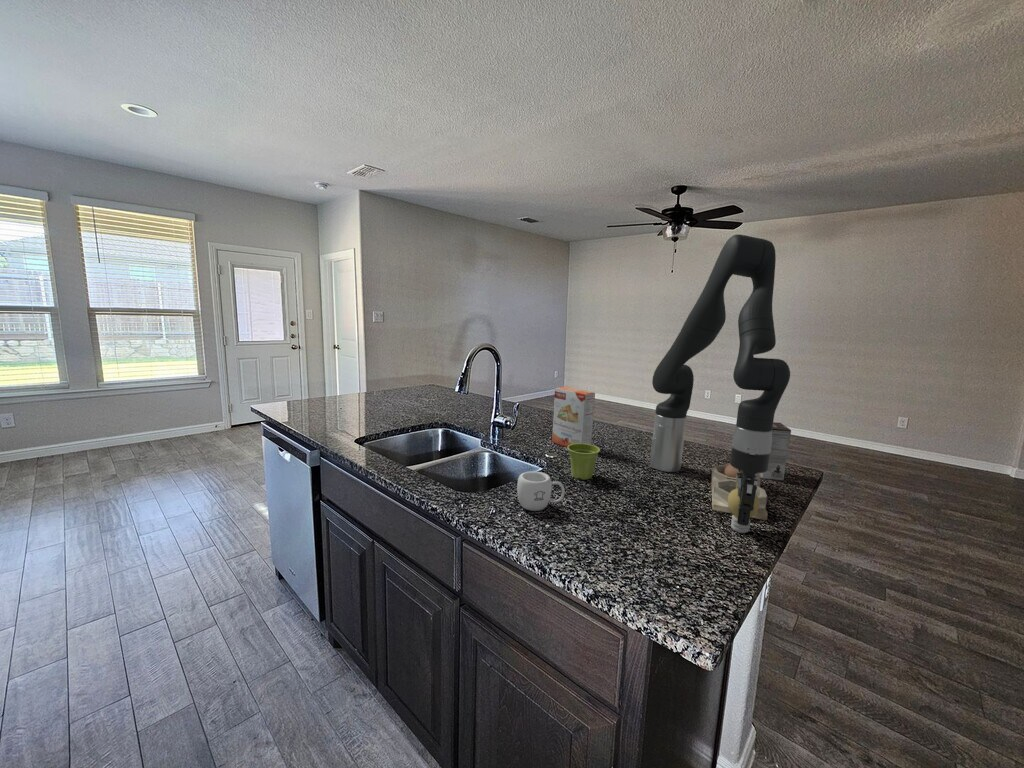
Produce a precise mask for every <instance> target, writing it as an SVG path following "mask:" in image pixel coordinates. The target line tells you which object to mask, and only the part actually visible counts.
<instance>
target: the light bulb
mask: <svg viewBox="0 0 1024 768" xmlns="http://www.w3.org/2000/svg"><path fill="white" fill-rule="evenodd" d="M737 491H738V488H737V489H734V490H732V491H731V492H730V494H729V496H728V505H729V508H730V509H731V511H732V513H733V514H732V513H731V514H732V515H731V524H730V527H731V529H733V531H734V532H737V533H739V534H746V533H748V532H749V531H750V527H751V524H750V523H751V519H750V518H752V516H753V515H755V514H756V513H757V511H758V509H759V506H760V501H759V498H758V496H757V495H756V494H755V500H754V506H753V507H754V509H753V511H750V518H749V524H748V525H747V526H745V525H740V524H738V523H737V518H738V511H739V506H738V504H739V497H738V496H737ZM741 493H742V492H741ZM743 503H745V504H749V500H744V502H743Z"/></svg>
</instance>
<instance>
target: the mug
mask: <svg viewBox="0 0 1024 768" xmlns="http://www.w3.org/2000/svg"><path fill="white" fill-rule="evenodd" d="M554 485H558V486H559V487H560V488H561V496H560V497H559V498H558V499H552V498H551V497H552V490H553V488H552V487H553V486H554ZM516 486H517V487H516V488H517V490H516V491H517V498H518V502H519V504H520V506H521V507H522V508H523V509H524V510H526V511H532V512H537V511H538V512H539V511H542V510H544V509H545V508H547V506H548V505H549V502H550V503H553V504H557V503H560V502H561V501H562V500H563V499H564V497H565V487H564V484H563V483H562V482H560V481H558V480H556V481H552V479H551V477H550V475H549V474H547V473H545V472H541V471H534V470H531V471H525V472H523V473H521V474H519V476H518V479H517V485H516Z"/></svg>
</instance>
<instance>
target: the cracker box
mask: <svg viewBox="0 0 1024 768" xmlns="http://www.w3.org/2000/svg"><path fill="white" fill-rule="evenodd" d="M595 397H596V392H594V391H588V390H583V389H579V388H576V387H575V388H574V387H569V386H558V387H555V388H554V402H553V403H554V404H553V419H552V421H553V422H552V437H551V438H552V439H551V441H552V443H554V444H558V445H560V446H563V447H566V448H567V447H568V446H569V445H571V444H578V443H580V444H590V445H592V441H593V439H592V438H593V428H594V427H593V426H594V412H595Z"/></svg>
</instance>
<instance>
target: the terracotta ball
mask: <svg viewBox="0 0 1024 768" xmlns="http://www.w3.org/2000/svg"><path fill="white" fill-rule="evenodd" d="M726 465H727V466H726V468H725V475H726V476H728V477H733V478H736V474H737V473H738V469H736V468H734V467H732V466H731V464H730V462H729V463H728V464H726Z"/></svg>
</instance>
